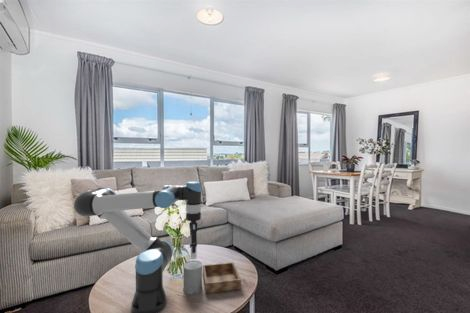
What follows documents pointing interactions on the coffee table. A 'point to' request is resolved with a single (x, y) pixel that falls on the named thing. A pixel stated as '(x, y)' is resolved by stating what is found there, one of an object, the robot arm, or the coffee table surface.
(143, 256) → the robot arm
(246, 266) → the coffee table surface
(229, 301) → the coffee table surface
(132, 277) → the coffee table surface
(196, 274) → the speckled white tin can
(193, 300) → the coffee table surface
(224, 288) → the walnut box
